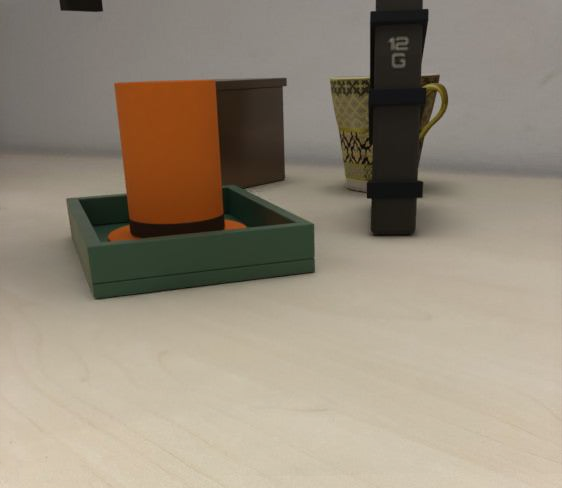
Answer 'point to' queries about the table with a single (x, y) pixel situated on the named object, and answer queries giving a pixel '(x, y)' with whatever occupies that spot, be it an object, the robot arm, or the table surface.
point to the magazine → (396, 113)
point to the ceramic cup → (355, 122)
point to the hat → (170, 158)
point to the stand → (251, 130)
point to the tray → (189, 246)
